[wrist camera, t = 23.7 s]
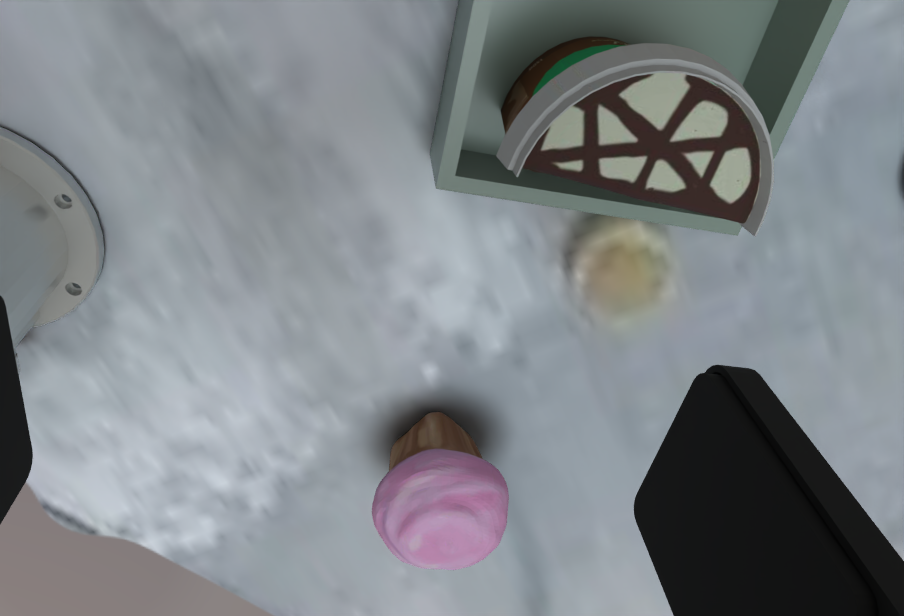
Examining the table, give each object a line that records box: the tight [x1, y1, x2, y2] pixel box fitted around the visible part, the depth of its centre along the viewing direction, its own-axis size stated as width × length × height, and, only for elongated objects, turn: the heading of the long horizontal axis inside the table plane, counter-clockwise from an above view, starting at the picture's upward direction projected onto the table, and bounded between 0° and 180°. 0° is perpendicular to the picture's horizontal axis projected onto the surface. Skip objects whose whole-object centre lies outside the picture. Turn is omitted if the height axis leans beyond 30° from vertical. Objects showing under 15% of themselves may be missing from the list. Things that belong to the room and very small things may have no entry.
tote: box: [430, 0, 849, 236], centre depth 31 cm, size 20×17×5 cm
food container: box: [496, 36, 774, 237], centre depth 30 cm, size 12×6×10 cm, turn 74°
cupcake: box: [372, 412, 509, 570], centre depth 44 cm, size 9×9×10 cm
